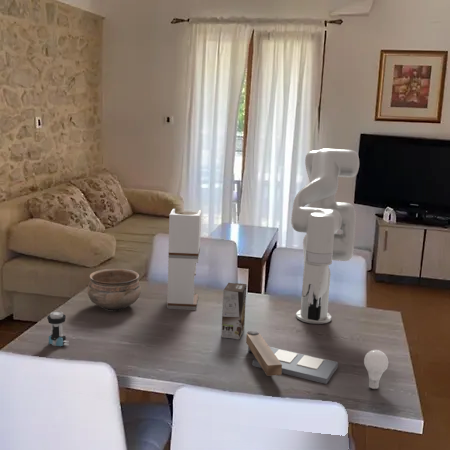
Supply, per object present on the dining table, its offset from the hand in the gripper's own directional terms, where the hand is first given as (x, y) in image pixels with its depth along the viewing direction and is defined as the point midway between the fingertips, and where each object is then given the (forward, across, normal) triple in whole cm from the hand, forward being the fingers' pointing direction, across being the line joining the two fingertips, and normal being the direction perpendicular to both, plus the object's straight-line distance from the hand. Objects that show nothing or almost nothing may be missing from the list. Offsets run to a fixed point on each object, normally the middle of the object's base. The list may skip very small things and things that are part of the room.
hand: (313, 318), depth 164 cm
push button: (+15, +25, -72) cm, 78 cm away
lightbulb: (+15, +4, +19) cm, 25 cm away
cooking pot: (+15, -10, -77) cm, 79 cm away
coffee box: (+15, -12, -30) cm, 36 cm away
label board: (+15, +2, -4) cm, 16 cm away
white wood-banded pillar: (+15, -28, -58) cm, 66 cm away
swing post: (+15, -2, -19) cm, 24 cm away
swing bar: (+12, +6, -13) cm, 19 cm away
